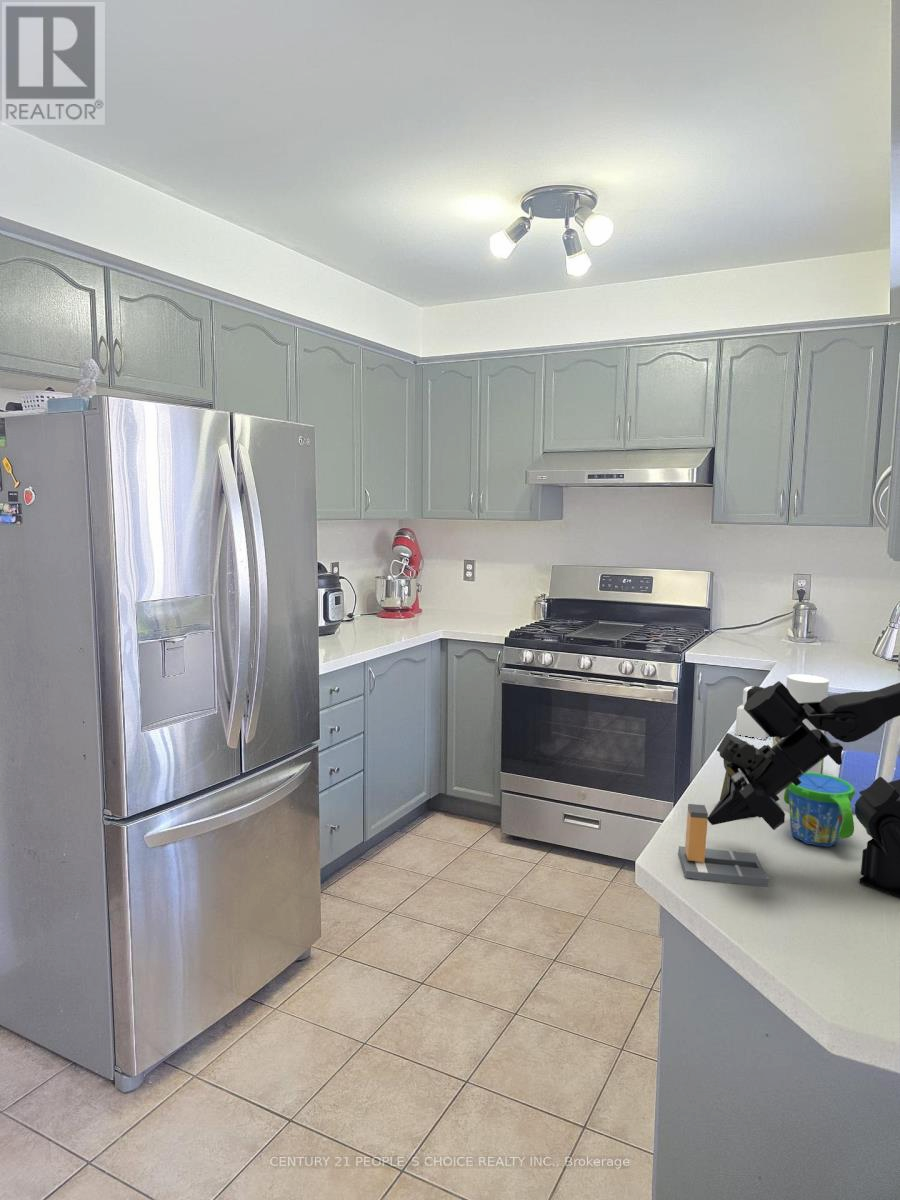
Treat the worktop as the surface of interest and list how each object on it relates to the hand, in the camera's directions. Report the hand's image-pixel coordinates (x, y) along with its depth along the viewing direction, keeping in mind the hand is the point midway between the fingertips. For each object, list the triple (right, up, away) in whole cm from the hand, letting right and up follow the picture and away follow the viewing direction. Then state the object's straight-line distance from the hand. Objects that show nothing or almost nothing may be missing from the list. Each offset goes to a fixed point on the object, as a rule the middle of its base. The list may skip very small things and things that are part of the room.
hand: (709, 821), depth 125 cm
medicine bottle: (+35, +1, +76) cm, 84 cm away
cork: (+13, -5, +25) cm, 28 cm away
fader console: (+2, -8, +1) cm, 8 cm away
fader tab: (-2, -7, +1) cm, 7 cm away
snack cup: (+22, -7, +13) cm, 27 cm away
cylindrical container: (+26, -5, +28) cm, 38 cm away
